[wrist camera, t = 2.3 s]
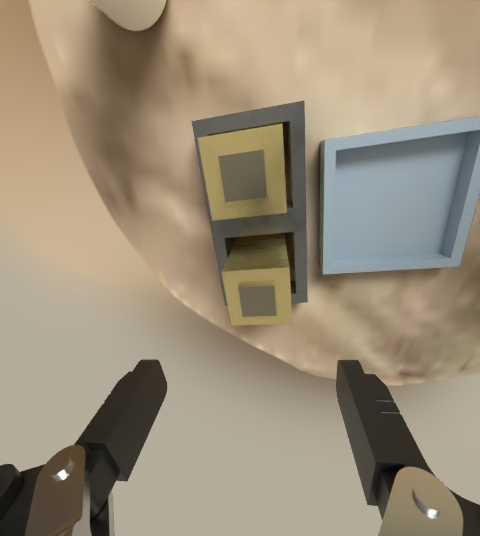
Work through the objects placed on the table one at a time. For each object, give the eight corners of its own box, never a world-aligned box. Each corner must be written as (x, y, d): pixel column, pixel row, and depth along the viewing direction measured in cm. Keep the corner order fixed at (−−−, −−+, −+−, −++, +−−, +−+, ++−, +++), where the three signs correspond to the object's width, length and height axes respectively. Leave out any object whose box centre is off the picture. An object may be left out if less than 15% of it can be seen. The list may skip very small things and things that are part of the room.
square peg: (278, 137, 19) (282, 122, 11) (281, 194, 21) (287, 214, 13) (225, 146, 20) (195, 137, 12) (232, 200, 21) (210, 222, 14)
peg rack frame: (300, 108, 18) (304, 100, 16) (304, 289, 24) (307, 302, 22) (201, 125, 19) (191, 121, 17) (229, 292, 26) (225, 305, 23)
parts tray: (479, 117, 17) (501, 112, 15) (445, 258, 21) (459, 266, 20) (320, 141, 19) (324, 139, 17) (319, 266, 23) (322, 274, 21)
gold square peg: (284, 232, 22) (289, 269, 15) (286, 274, 24) (292, 327, 16) (237, 236, 23) (220, 274, 15) (243, 277, 25) (230, 329, 17)
